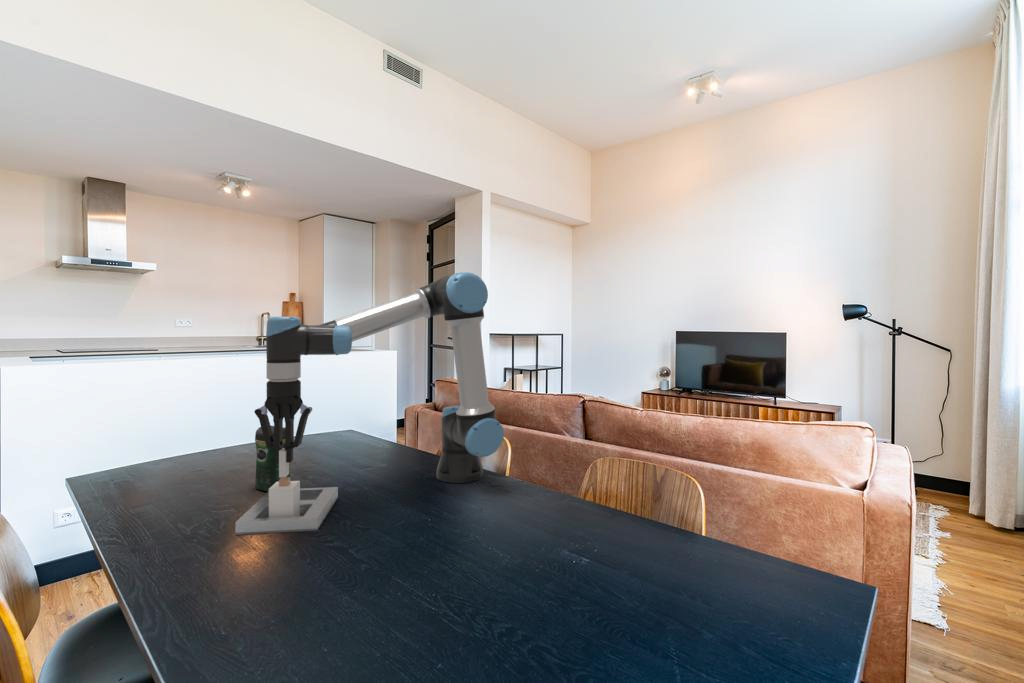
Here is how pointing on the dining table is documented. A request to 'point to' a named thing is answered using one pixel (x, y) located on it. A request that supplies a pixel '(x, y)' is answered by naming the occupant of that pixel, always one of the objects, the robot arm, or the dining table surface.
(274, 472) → the coffee jar
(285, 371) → the robot arm
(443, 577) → the dining table surface
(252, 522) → the socket plate
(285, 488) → the white rectangular block
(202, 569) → the dining table surface
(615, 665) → the dining table surface
